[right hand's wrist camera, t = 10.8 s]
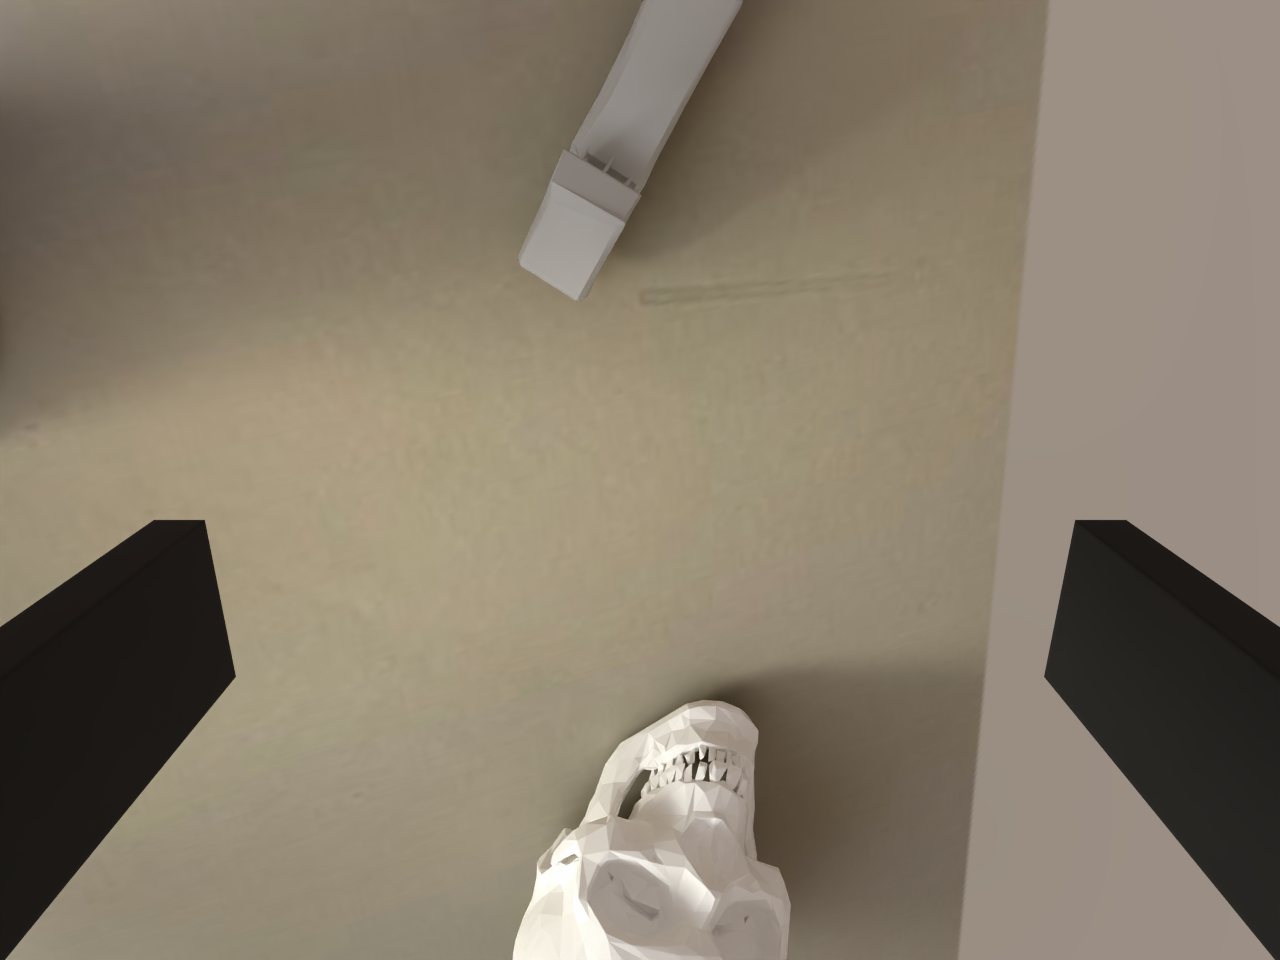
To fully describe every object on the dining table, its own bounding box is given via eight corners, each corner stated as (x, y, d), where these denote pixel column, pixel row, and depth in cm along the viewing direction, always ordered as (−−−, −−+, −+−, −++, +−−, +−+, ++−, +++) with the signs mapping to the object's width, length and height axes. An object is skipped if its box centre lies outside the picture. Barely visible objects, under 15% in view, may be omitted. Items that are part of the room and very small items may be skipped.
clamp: (584, 303, 40) (583, 312, 33) (515, 264, 39) (500, 266, 32) (803, -107, 36) (850, -189, 29) (729, -159, 35) (761, -255, 28)
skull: (823, 710, 48) (892, 943, 33) (699, 969, 55) (711, 1257, 40) (607, 646, 47) (579, 857, 32) (510, 918, 54) (451, 1194, 40)
